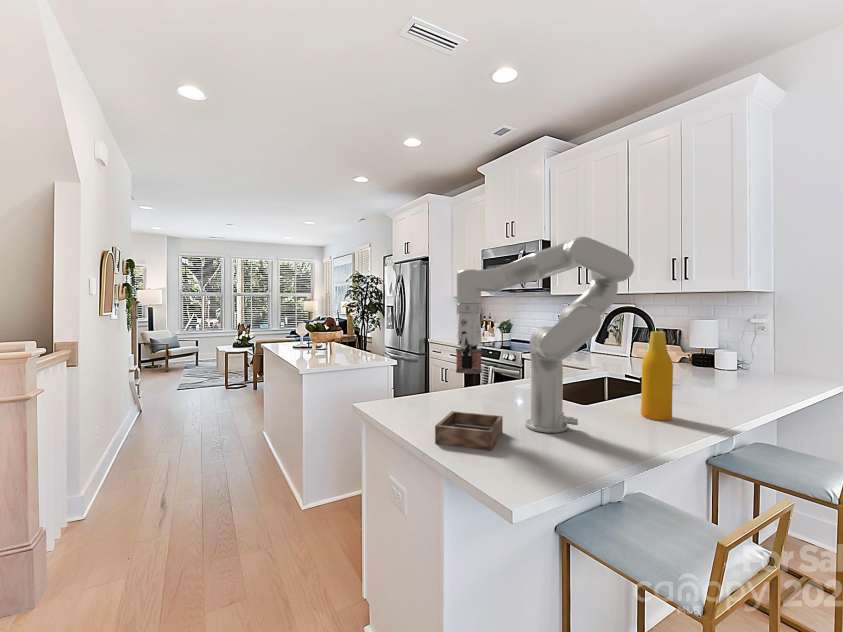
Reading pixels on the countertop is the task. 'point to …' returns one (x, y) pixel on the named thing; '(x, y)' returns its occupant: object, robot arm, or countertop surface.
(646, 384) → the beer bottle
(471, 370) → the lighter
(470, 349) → the robot arm
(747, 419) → the countertop surface
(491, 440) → the walnut box
